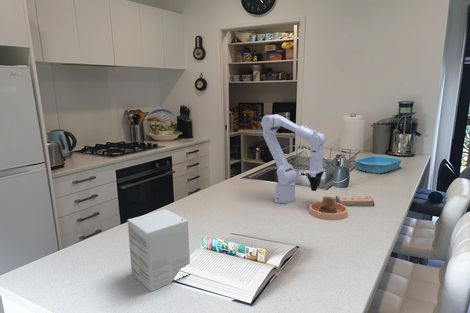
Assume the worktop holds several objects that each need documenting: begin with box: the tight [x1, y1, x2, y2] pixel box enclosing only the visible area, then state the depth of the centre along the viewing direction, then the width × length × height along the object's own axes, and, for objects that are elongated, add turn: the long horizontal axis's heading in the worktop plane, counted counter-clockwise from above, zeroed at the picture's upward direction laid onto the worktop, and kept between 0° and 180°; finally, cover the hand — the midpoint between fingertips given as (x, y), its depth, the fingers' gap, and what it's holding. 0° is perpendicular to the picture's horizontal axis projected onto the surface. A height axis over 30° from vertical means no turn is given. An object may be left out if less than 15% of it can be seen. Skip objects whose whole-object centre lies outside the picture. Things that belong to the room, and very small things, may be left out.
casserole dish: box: [354, 155, 403, 175], centre depth 222 cm, size 37×22×7 cm, turn 130°
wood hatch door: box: [322, 195, 336, 211], centre depth 141 cm, size 5×2×7 cm, turn 66°
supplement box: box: [127, 208, 191, 292], centre depth 96 cm, size 13×13×18 cm
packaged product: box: [335, 194, 375, 208], centre depth 152 cm, size 18×5×10 cm
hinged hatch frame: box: [319, 206, 337, 213], centre depth 141 cm, size 7×5×2 cm, turn 66°
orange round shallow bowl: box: [308, 200, 349, 221], centre depth 141 cm, size 16×16×4 cm
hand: (315, 188), depth 149 cm, fingers open, 7 cm apart
